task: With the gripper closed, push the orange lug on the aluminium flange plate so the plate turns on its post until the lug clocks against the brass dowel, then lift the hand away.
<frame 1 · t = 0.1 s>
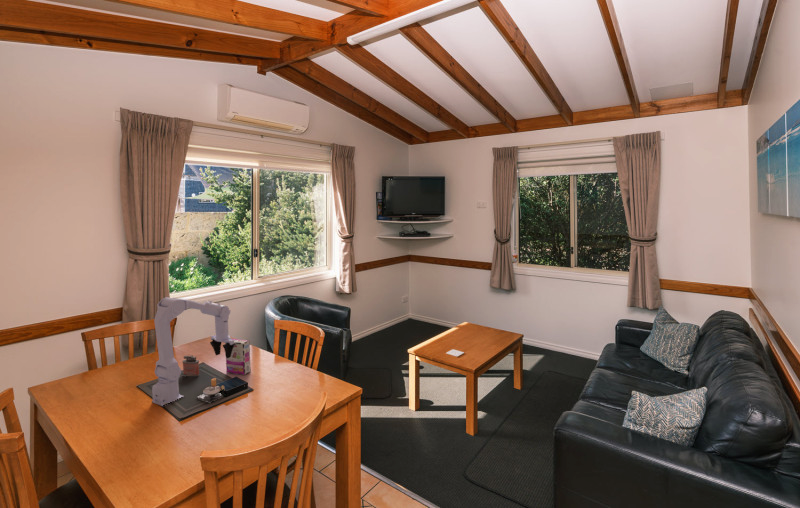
hand: (223, 356, 197), 10 cm above the table, tool pointing down, fingers open, 7 cm apart
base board: (212, 397, 176), on the table
flange plate: (212, 386, 176), point 5 cm above the table, hinge at 60.0°
candy bar box: (238, 372, 203), on the table
lighter: (191, 375, 198), on the table
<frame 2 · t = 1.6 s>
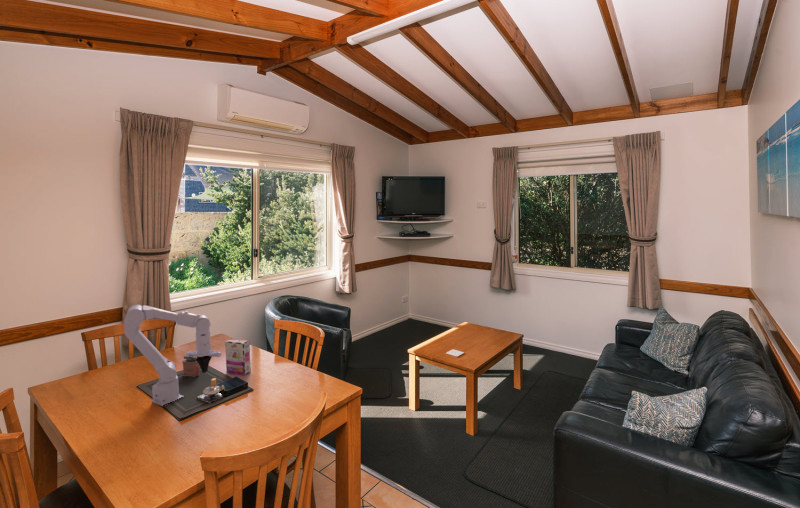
hand: (204, 371, 180), 9 cm above the table, tool pointing down, fingers closed
nothing on the table moved.
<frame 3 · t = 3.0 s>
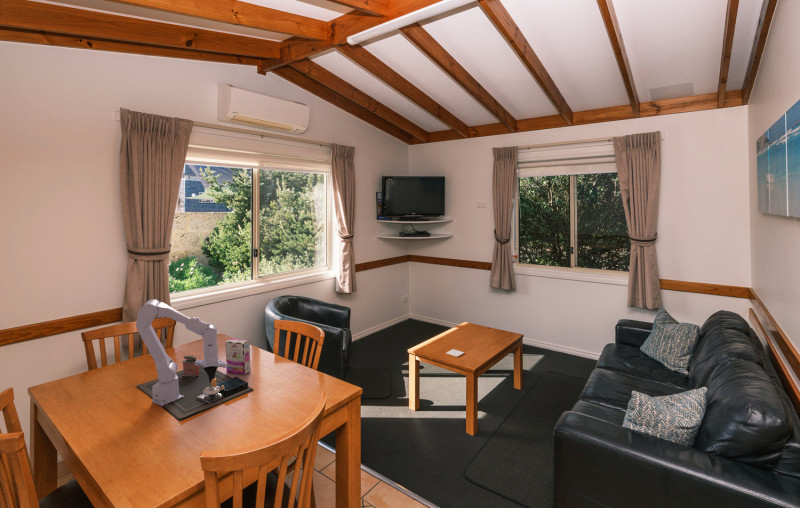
hand: (212, 381, 180), 5 cm above the table, tool pointing down, fingers closed, pressing on flange plate
flange plate: (212, 386, 176), point 5 cm above the table, hinge at 58.7°, touching gripper
everything else where it was.
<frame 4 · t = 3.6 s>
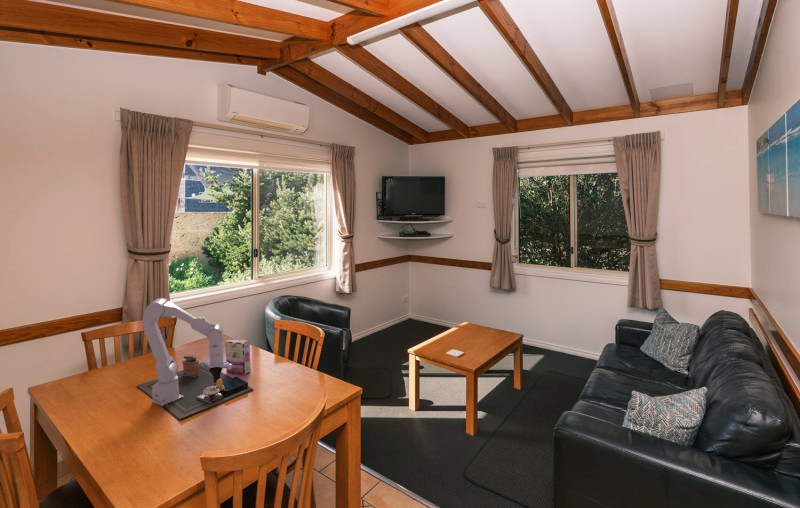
hand: (217, 382, 179), 5 cm above the table, tool pointing down, fingers closed, pressing on flange plate
flange plate: (213, 386, 176), point 5 cm above the table, hinge at 20.5°, touching gripper
everything else where it was.
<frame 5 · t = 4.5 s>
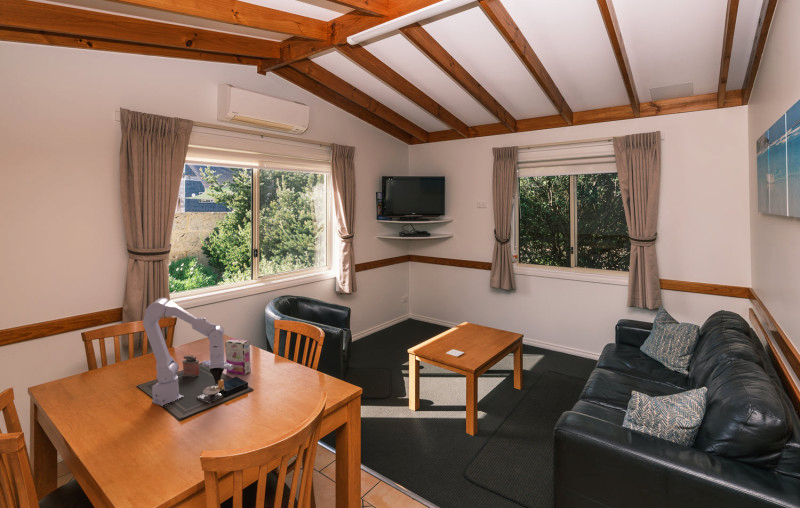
hand: (218, 383, 179), 5 cm above the table, tool pointing down, fingers closed, pressing on flange plate
flange plate: (213, 386, 176), point 5 cm above the table, hinge at -0.2°, touching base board, gripper
everything else where it was.
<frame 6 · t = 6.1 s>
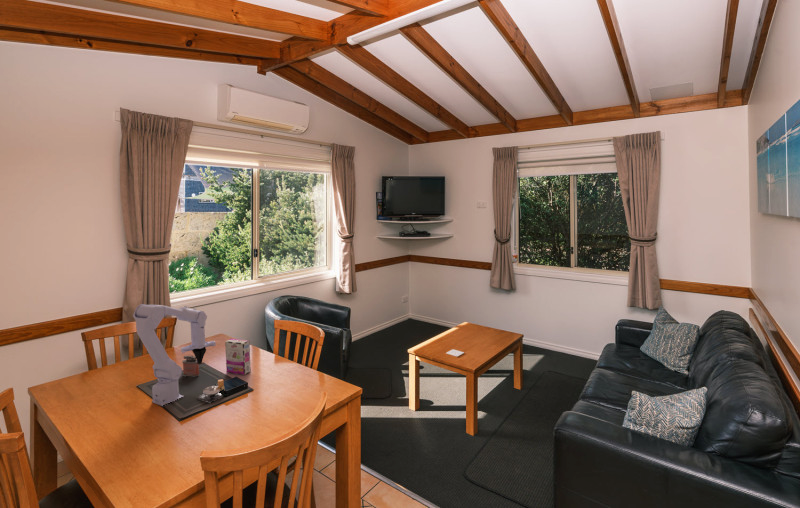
hand: (199, 363, 189), 9 cm above the table, tool pointing down, fingers closed
flange plate: (213, 386, 176), point 5 cm above the table, hinge at 1.2°
everything else where it was.
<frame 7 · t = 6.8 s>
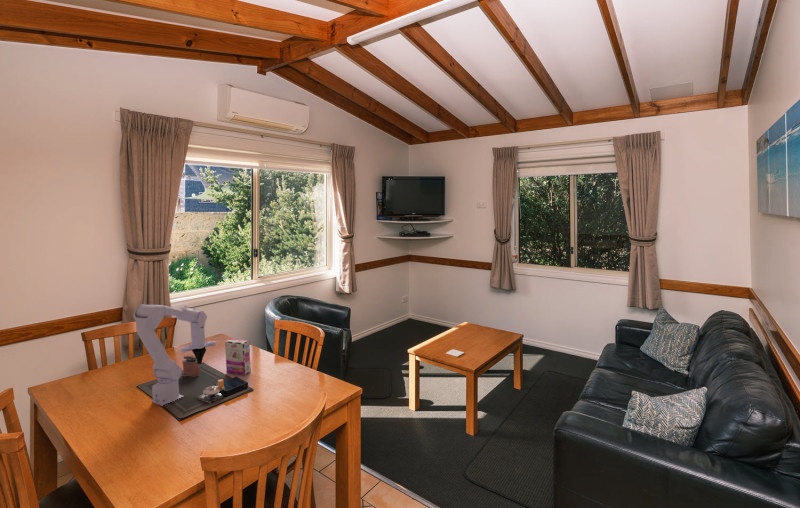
hand: (199, 363, 189), 9 cm above the table, tool pointing down, fingers closed
nothing on the table moved.
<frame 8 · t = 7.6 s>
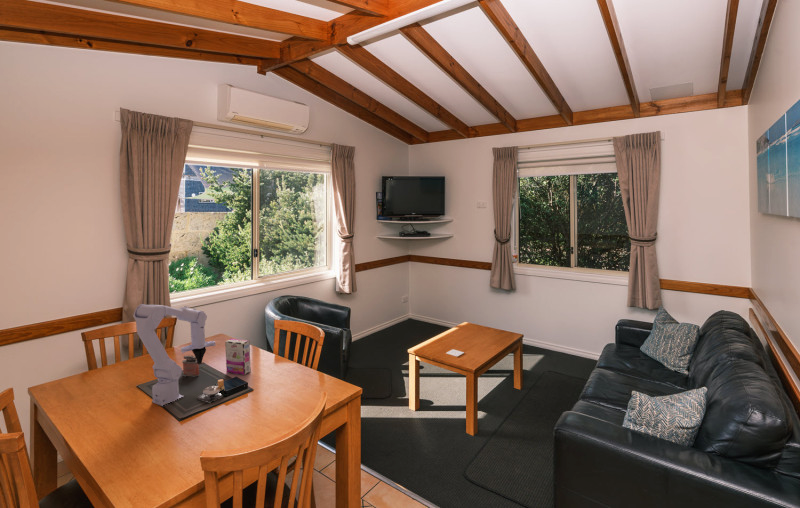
hand: (199, 363, 189), 9 cm above the table, tool pointing down, fingers closed
nothing on the table moved.
at the end: flange plate at +1° (first picture: +60°) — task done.
